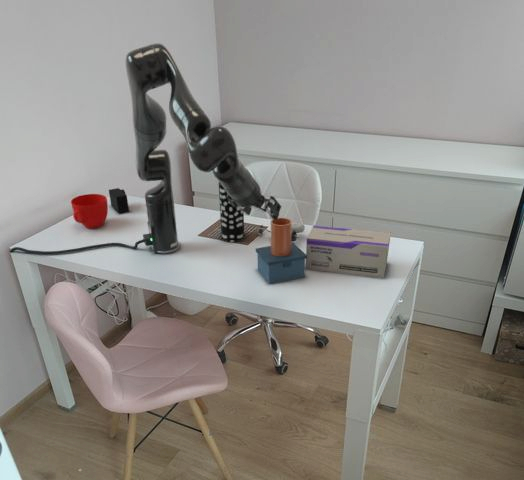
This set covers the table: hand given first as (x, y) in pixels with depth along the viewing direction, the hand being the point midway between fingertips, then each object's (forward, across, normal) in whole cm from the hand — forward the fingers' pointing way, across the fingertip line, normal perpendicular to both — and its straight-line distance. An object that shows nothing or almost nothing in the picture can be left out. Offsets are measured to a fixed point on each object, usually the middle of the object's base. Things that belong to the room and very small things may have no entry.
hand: (262, 214), depth 151 cm
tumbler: (+20, 0, -3) cm, 20 cm away
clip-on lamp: (+42, -14, +9) cm, 45 cm away
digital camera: (+40, -84, +6) cm, 93 cm away
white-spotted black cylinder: (+37, -28, +4) cm, 47 cm away
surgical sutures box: (+35, +17, +2) cm, 39 cm away
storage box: (+25, 0, -8) cm, 26 cm away
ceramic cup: (+26, -82, -8) cm, 86 cm away
